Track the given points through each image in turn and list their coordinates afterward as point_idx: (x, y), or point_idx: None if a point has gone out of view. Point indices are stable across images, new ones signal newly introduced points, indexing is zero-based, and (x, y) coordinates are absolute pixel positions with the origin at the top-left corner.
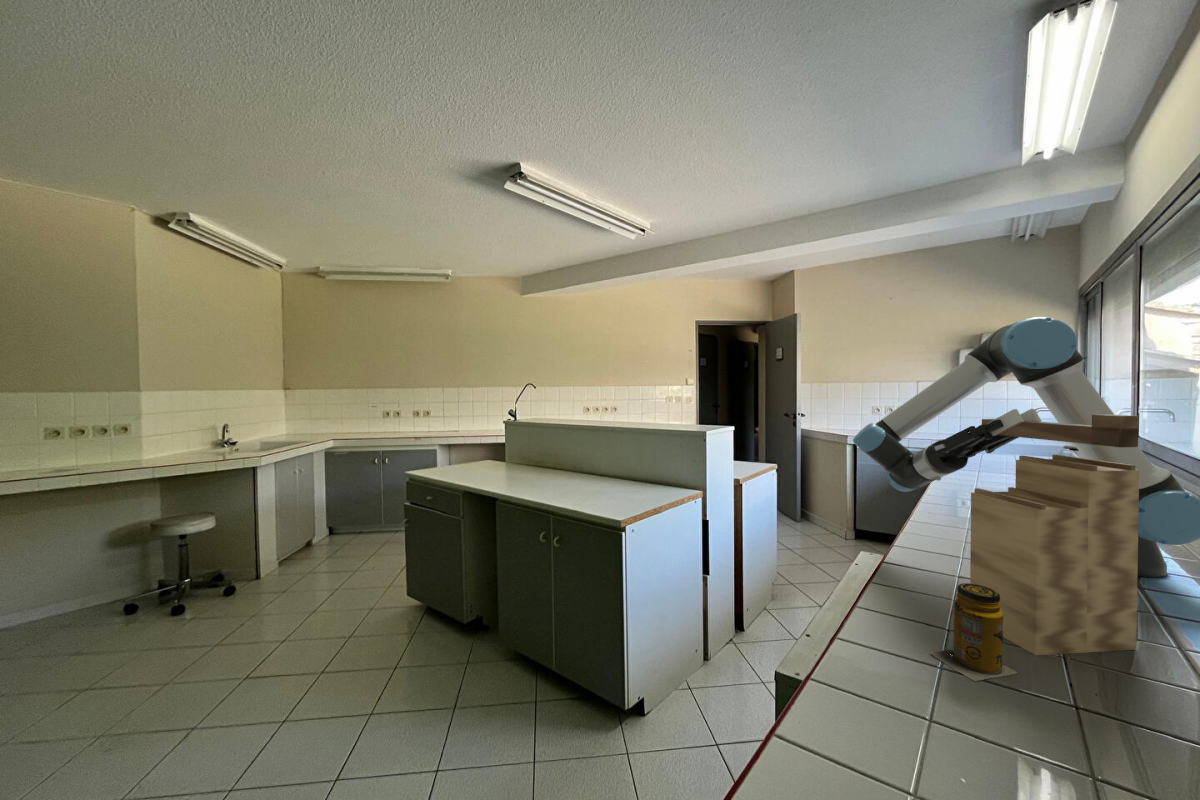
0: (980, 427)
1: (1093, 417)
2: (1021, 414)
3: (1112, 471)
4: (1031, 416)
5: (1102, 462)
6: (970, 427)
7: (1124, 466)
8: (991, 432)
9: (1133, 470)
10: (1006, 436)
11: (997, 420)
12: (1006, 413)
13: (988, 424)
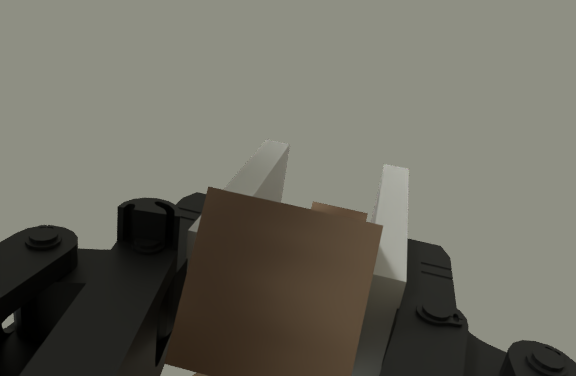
0: (471, 339)
1: (365, 221)
2: (273, 171)
3: None
4: (278, 190)
5: None
6: (568, 369)
7: None
8: (383, 361)
9: None
10: (161, 365)
11: (429, 249)
12: (406, 191)
13: (450, 292)
